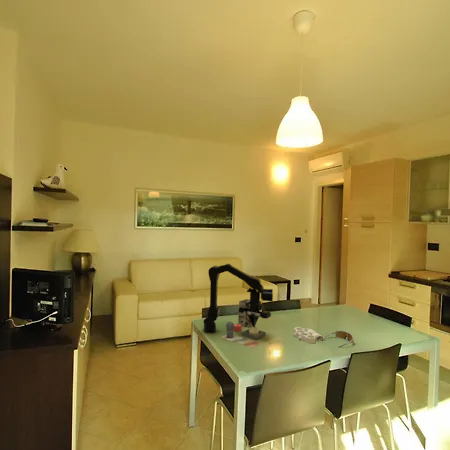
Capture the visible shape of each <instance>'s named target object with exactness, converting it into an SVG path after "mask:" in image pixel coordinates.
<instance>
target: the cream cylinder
mask: <svg viewBox="0 0 450 450" xmlns="http://www.w3.org/2000/svg"><path fill="white" fill-rule="evenodd" d="M248 329H249V333H250V334H253V335H257V334H259V330H260V329H259V328H258V327H257V326H255V327H253V326H250V327H249V328H248Z"/></svg>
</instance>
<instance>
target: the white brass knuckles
mask: <svg viewBox="0 0 450 450" xmlns="http://www.w3.org/2000/svg"><path fill="white" fill-rule="evenodd" d="M293 336H295V337H296V338H297V339H298V340H300V341H302V342H305V343H306V344H310V345H311V344H312V345H313V344H315V343H316V341H318V342H320V341H323V340H324V336H323V335H321V334H319V333H318V332H317V331H315V330H313V329H311V328H303V327H299V326H298V327H297V326H296V327H294V328H293Z"/></svg>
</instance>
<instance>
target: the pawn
mask: <svg viewBox="0 0 450 450" xmlns="http://www.w3.org/2000/svg"><path fill="white" fill-rule="evenodd" d="M234 325H235V324H234V322H232V321H228V322H227V323H226V325H225V327H226V333H225V335H226V337H227V338H233V335H234V332H235V331H234Z"/></svg>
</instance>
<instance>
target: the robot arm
mask: <svg viewBox="0 0 450 450" xmlns="http://www.w3.org/2000/svg"><path fill="white" fill-rule="evenodd" d="M225 272H228V273H230V274H231V275H233V276H235V277H236V278H238V279H240V280H241V281H243V282H244V283H245V284H247V285H248V286H249V288H248V289H247V290H246V292H247V293H249V300H250V302H249V304H250V308H249V307H247V306H242V307H240V308H239V307H238V313H239V312H240V313H243V312H244V311H246V312H247V316H248V317H249V319H250V321H251V323H252V326H251V327H256V324H257V322H258V320H259V318H262V319H269V318H270V317H271V316H272V313H271V311H268V310H265V304H264V303H262V302H263V301H264V302H273V300H274V294H273V293H274V292H273V291H274V288H273V289H271V288H270V289H268V288H264V286H263V284H262V281H261V279H260V278H259V277H257V276H254V275H250V274H248V273H245V272H243V270H240V268H236V267H235V266H233V265H232V264H231V263H226V264H224V265H219V266H218V265H213V266H212V267H210V268H209V269H208V271H207V273H208V277H209V281H210V282H209V283H210V291H209V293H210V294H209V299H210V300H209V307H208V310H207V315H206V317H205V318H204V320H203V331H204V332H206V333H208V334H209V333H211V334H214V333H216V332H217V326H216V322H215V321H217V319H218V318H219V316H220V315H221V311H220V310H221V307H220V306H219V307H218V288H219V287H218V283H219V278H220V276H221V275H220V274H223V273H225ZM260 299H261V300H262V302H261V300H260Z"/></svg>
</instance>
